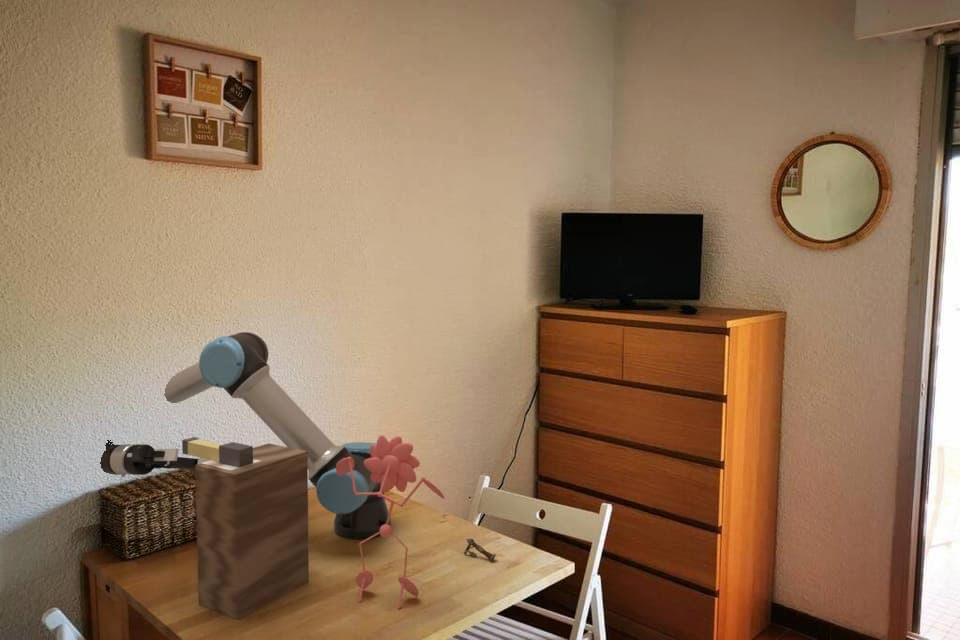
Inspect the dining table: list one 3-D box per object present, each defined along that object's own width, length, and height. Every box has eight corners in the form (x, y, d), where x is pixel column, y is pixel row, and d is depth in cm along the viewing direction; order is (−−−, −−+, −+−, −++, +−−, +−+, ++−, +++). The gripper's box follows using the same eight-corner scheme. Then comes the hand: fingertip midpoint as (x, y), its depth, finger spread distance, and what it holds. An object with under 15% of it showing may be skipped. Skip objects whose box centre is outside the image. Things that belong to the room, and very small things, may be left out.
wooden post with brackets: (463, 549, 182) (469, 535, 180) (489, 568, 179) (496, 553, 178) (459, 552, 180) (466, 537, 179) (486, 571, 177) (493, 556, 176)
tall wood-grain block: (308, 581, 165) (307, 450, 162) (238, 619, 148) (235, 473, 145) (270, 569, 171) (268, 442, 168) (198, 604, 154) (195, 463, 151)
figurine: (434, 617, 150) (436, 448, 147) (322, 598, 158) (323, 437, 155) (459, 586, 164) (462, 432, 162) (356, 570, 172) (356, 423, 169)
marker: (253, 463, 152) (252, 446, 152) (239, 467, 149) (239, 450, 149) (195, 450, 161) (194, 434, 161) (181, 453, 158) (180, 437, 158)
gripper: (170, 481, 194) (231, 481, 186) (88, 467, 173) (154, 467, 164) (175, 452, 197) (236, 451, 188) (95, 435, 175) (160, 434, 167)
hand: (198, 459), depth 176 cm, fingers open, 13 cm apart
